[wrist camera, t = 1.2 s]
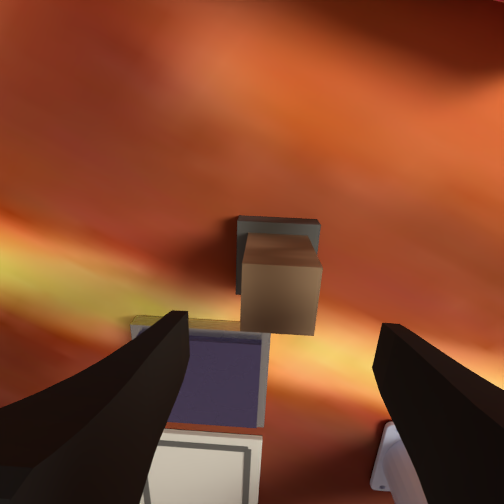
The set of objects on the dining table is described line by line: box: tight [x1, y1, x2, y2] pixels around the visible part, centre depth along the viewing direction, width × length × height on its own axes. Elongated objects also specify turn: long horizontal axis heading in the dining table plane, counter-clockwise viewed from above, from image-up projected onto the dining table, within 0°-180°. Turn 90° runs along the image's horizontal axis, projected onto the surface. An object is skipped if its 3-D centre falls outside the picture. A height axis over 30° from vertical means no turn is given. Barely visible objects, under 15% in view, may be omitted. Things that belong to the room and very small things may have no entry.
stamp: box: [236, 215, 323, 336], centre depth 17 cm, size 5×5×6 cm
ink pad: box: [130, 315, 271, 428], centre depth 22 cm, size 10×9×2 cm
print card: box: [140, 429, 262, 504], centre depth 27 cm, size 12×12×1 cm
